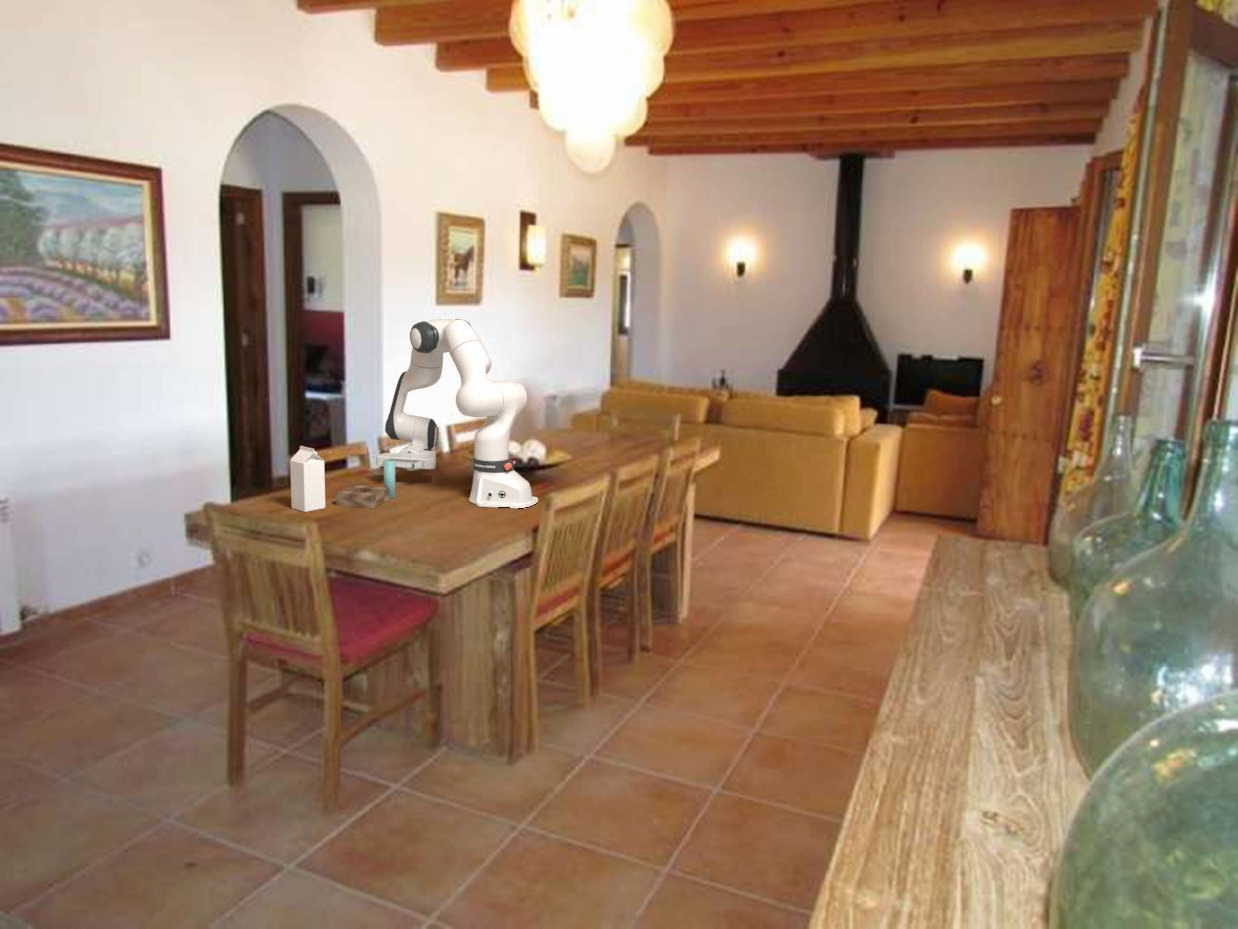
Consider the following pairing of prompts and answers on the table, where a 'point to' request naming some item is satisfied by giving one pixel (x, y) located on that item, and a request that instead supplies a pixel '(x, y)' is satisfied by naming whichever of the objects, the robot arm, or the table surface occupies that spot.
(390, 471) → the peg
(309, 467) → the milk carton
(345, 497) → the socket block
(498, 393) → the robot arm
